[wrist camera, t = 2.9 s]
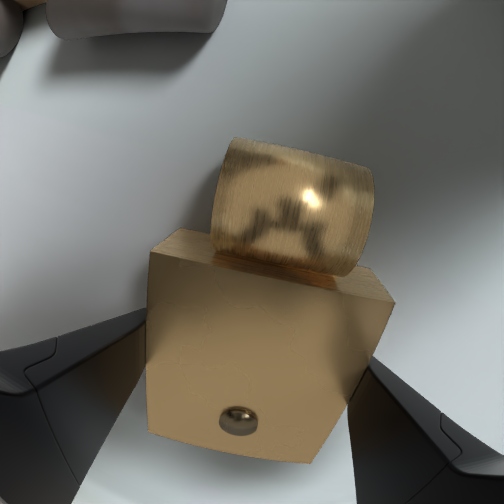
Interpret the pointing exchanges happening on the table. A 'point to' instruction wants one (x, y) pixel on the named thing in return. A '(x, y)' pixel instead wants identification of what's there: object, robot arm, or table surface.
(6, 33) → the tan flat piece
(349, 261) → the tan knobbed block
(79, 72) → the table surface
